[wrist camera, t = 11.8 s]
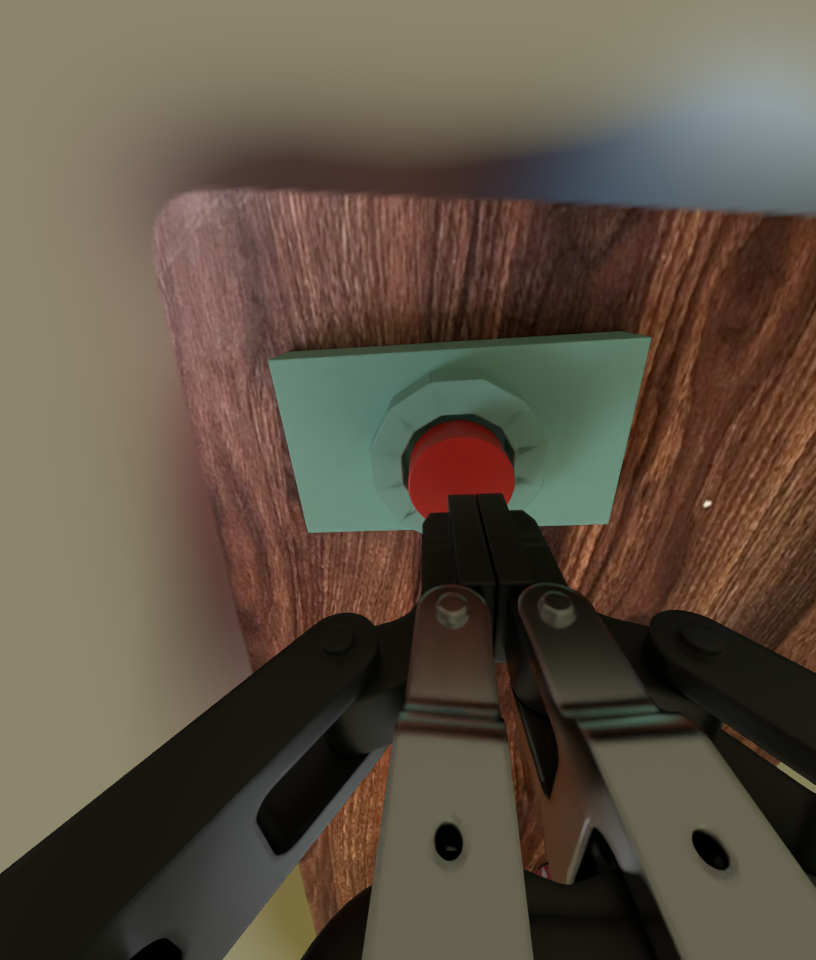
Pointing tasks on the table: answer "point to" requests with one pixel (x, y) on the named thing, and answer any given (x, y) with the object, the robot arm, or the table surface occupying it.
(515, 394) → the block
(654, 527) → the table surface
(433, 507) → the button
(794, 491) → the table surface
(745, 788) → the robot arm
